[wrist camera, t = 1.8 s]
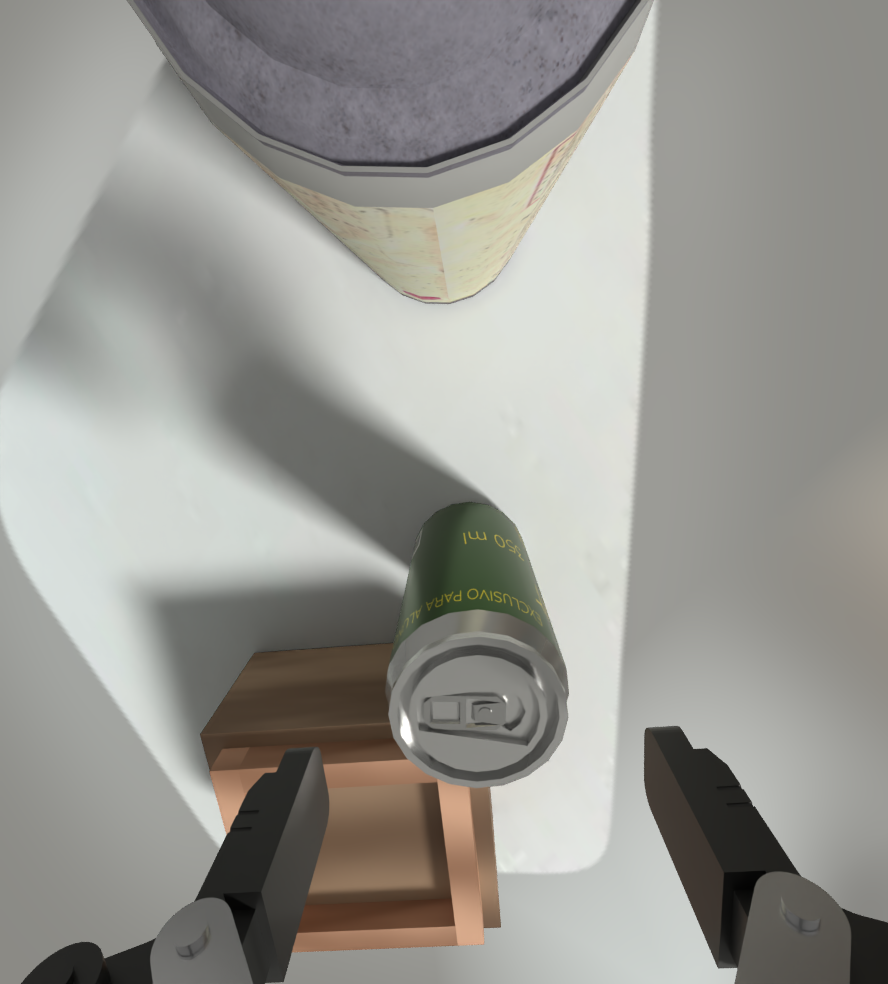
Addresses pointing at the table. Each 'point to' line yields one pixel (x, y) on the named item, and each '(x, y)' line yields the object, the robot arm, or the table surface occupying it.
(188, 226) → the table surface
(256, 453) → the table surface
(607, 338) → the table surface
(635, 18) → the aerosol can
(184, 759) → the table surface
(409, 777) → the wooden crate
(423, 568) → the beer can
